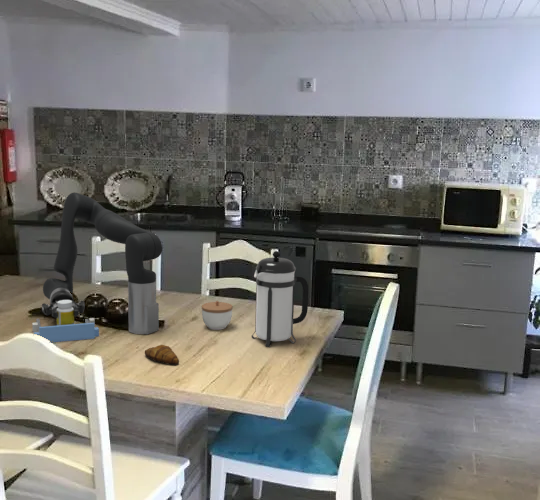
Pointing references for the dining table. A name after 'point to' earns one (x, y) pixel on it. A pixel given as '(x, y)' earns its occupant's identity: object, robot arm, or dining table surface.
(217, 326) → the lidded jar
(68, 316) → the supplement bottle
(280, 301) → the coffee press
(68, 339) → the blue pegged rail
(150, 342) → the dining table surface
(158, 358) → the croissant
